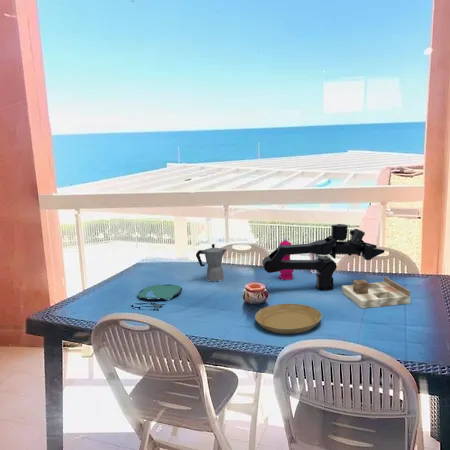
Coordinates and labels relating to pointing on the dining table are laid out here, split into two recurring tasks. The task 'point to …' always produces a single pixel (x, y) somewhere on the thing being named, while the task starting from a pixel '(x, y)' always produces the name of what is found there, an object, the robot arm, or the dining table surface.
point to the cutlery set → (160, 292)
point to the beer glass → (314, 257)
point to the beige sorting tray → (379, 294)
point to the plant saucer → (288, 318)
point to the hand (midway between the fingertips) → (380, 248)
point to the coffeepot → (213, 262)
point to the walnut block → (360, 286)
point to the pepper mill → (286, 273)
